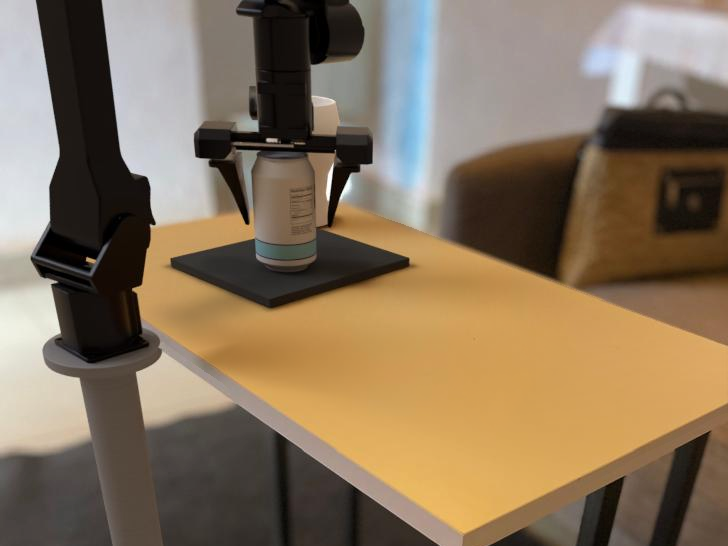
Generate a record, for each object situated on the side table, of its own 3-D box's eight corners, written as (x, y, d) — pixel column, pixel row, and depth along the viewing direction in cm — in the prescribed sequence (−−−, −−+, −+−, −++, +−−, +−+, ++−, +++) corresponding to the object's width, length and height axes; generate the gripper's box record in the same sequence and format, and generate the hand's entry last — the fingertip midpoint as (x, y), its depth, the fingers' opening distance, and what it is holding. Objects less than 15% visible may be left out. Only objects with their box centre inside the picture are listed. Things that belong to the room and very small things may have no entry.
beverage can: (275, 253, 101) (270, 145, 94) (327, 262, 99) (325, 152, 92) (245, 268, 96) (237, 155, 89) (298, 278, 94) (294, 164, 87)
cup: (255, 228, 112) (247, 103, 104) (273, 208, 121) (268, 91, 112) (333, 234, 112) (332, 109, 103) (346, 213, 120) (346, 97, 112)
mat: (270, 308, 89) (269, 298, 88) (170, 266, 98) (169, 258, 98) (409, 265, 102) (409, 257, 102) (310, 232, 112) (310, 225, 111)
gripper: (373, 63, 93) (370, 209, 102) (203, 55, 92) (215, 204, 101) (374, 76, 84) (371, 236, 93) (185, 68, 83) (201, 230, 92)
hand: (288, 225), depth 95 cm, fingers open, 9 cm apart
